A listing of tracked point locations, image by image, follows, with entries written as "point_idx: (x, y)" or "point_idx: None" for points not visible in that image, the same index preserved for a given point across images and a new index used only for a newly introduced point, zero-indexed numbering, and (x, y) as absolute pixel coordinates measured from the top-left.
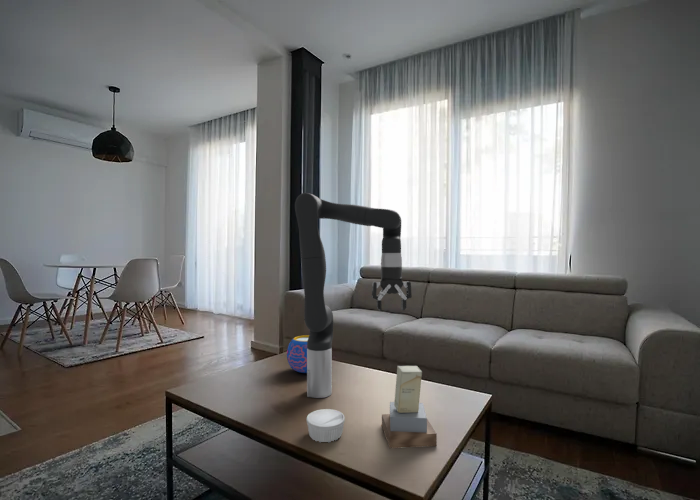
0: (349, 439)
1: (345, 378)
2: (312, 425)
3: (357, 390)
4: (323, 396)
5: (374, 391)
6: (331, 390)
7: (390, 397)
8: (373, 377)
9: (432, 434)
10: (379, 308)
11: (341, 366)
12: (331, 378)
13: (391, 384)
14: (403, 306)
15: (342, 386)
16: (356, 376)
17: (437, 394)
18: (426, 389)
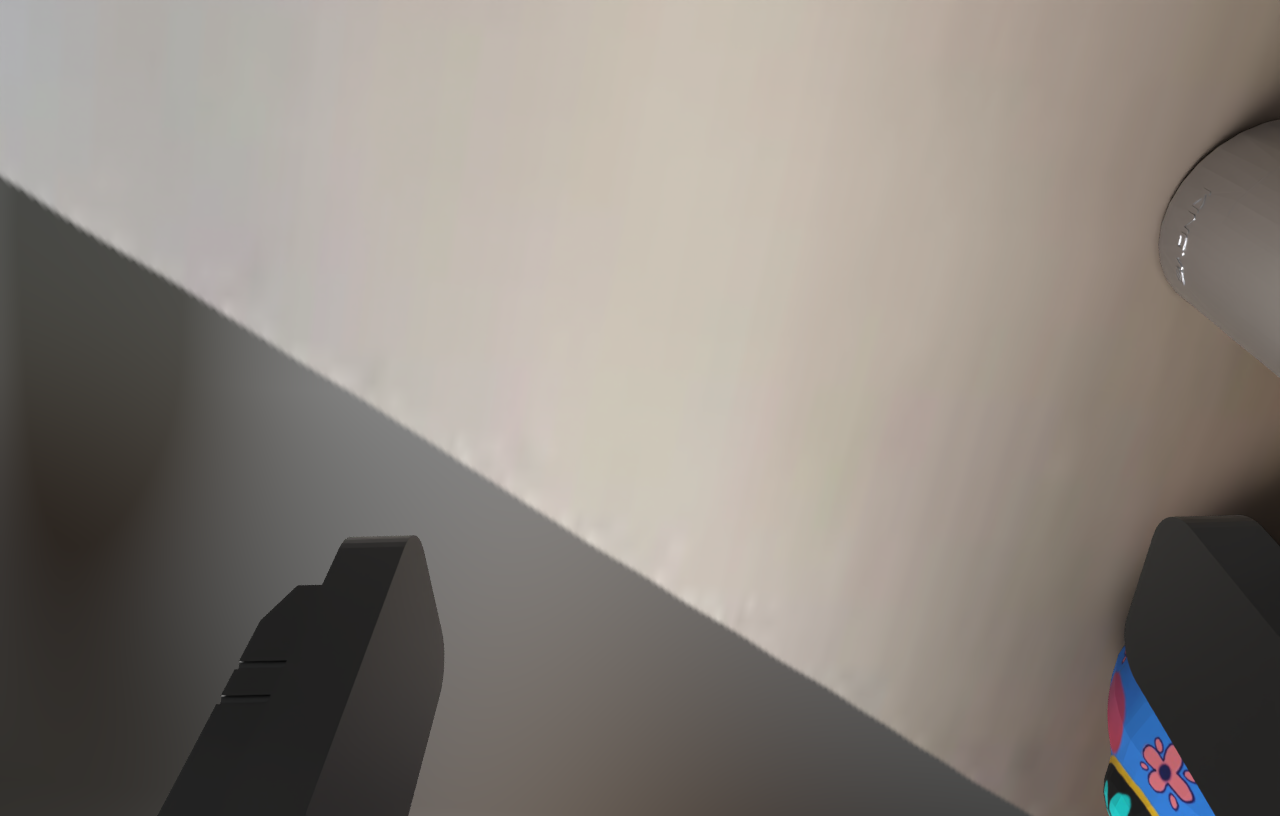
0: None
1: (963, 492)
2: None
3: (933, 260)
4: (1271, 124)
5: (800, 229)
6: (1183, 210)
7: (694, 93)
8: (746, 495)
9: None
10: (1276, 567)
11: (933, 694)
12: (1239, 248)
13: (633, 357)
14: (355, 612)
15: (1031, 347)
16: (870, 522)
17: (284, 127)
18: (365, 238)
